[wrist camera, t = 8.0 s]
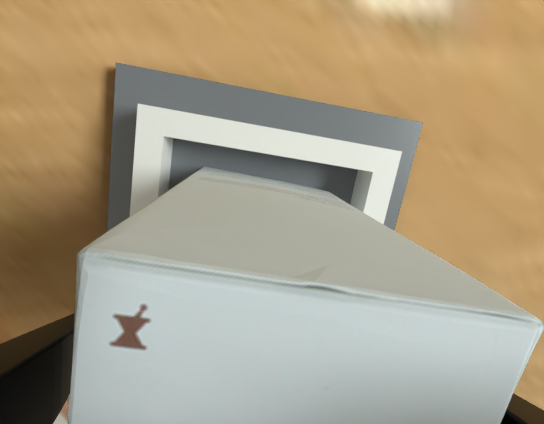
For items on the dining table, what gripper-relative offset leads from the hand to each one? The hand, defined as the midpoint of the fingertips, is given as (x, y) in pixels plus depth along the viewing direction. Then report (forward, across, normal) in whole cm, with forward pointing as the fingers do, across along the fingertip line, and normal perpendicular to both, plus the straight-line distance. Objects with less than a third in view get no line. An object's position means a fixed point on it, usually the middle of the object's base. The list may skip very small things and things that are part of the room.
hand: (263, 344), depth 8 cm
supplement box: (+9, 0, 0) cm, 9 cm away
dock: (+10, 0, 0) cm, 10 cm away
